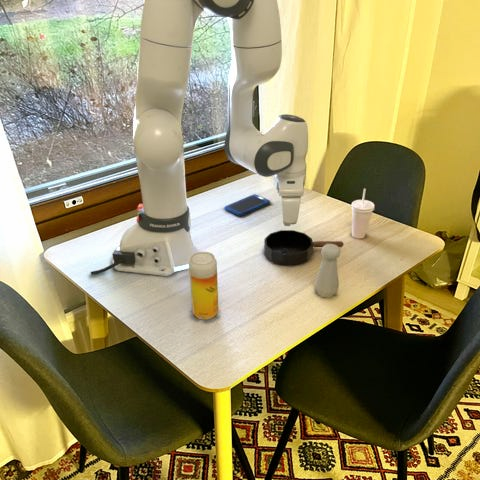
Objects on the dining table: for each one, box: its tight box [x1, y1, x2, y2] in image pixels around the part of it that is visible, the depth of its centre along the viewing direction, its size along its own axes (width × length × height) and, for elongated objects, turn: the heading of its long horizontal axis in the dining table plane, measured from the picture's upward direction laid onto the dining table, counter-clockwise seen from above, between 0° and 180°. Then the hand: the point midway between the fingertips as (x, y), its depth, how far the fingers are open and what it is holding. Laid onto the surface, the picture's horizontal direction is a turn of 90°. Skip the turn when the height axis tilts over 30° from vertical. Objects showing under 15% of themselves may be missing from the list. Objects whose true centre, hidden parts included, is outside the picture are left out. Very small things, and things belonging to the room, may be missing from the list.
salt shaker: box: [314, 244, 341, 299], centre depth 123 cm, size 6×6×13 cm
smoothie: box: [350, 188, 376, 239], centre depth 145 cm, size 6×6×14 cm
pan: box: [263, 229, 345, 267], centre depth 141 cm, size 21×13×4 cm, turn 90°
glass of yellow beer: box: [188, 251, 220, 321], centre depth 116 cm, size 6×6×15 cm
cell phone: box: [224, 193, 271, 217], centre depth 165 cm, size 7×14×1 cm, turn 134°
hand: (286, 223), depth 148 cm, fingers closed
